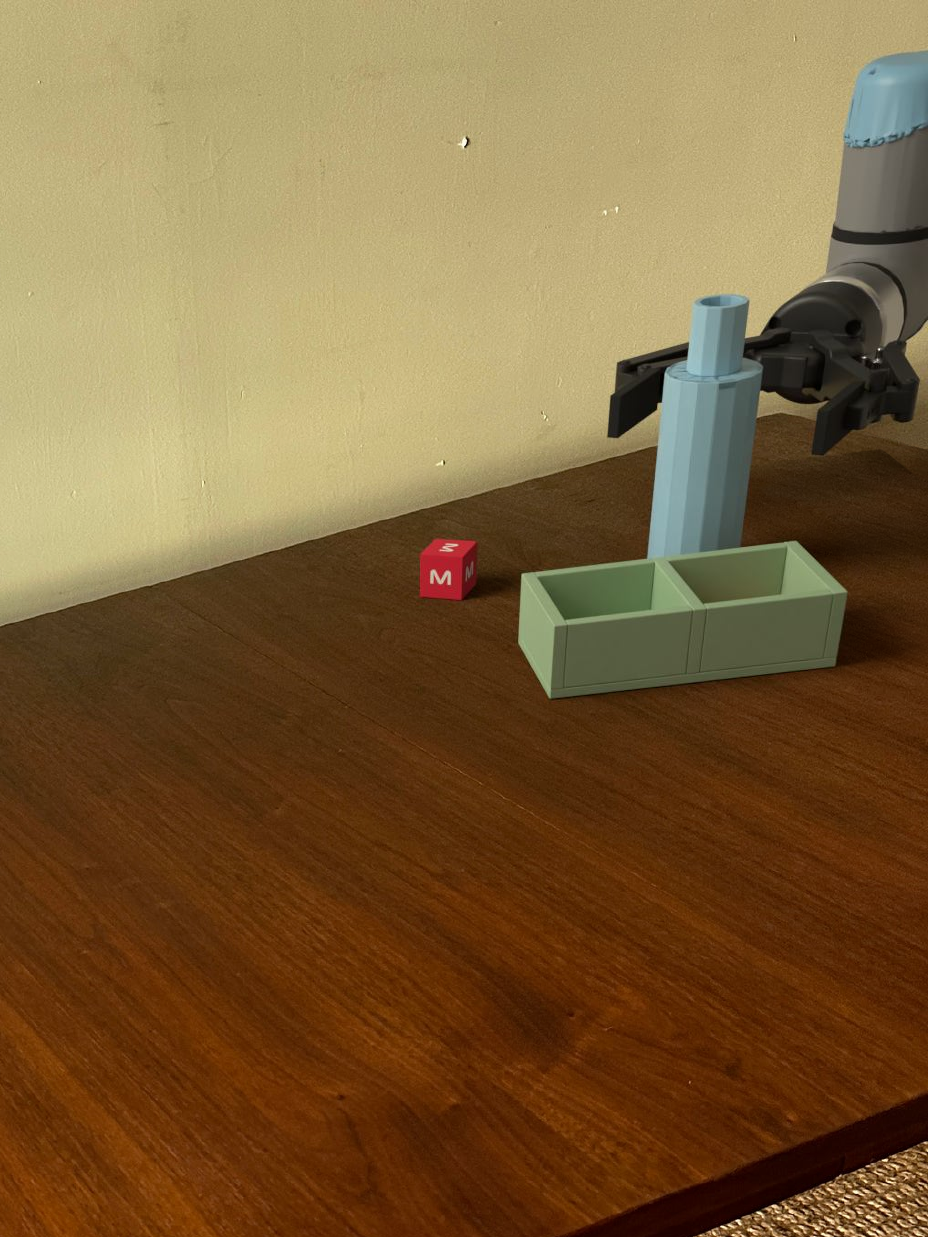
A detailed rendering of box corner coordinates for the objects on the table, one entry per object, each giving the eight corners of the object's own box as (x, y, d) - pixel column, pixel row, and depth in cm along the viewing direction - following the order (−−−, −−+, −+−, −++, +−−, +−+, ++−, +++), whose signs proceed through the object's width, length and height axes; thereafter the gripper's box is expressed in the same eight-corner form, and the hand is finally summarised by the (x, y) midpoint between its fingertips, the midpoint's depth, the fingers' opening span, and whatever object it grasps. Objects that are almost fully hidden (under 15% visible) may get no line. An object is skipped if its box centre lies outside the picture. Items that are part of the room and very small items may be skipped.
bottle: (721, 552, 122) (754, 284, 111) (748, 582, 117) (784, 305, 107) (636, 562, 122) (660, 296, 112) (659, 592, 118) (687, 318, 107)
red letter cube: (461, 600, 121) (462, 556, 119) (419, 597, 122) (420, 553, 120) (476, 584, 123) (477, 541, 121) (434, 581, 124) (435, 538, 122)
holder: (785, 612, 113) (796, 540, 110) (835, 666, 106) (848, 591, 103) (517, 643, 114) (521, 573, 111) (549, 699, 107) (554, 626, 104)
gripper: (1004, 402, 122) (903, 502, 110) (656, 380, 136) (532, 466, 124) (1028, 284, 118) (926, 375, 106) (666, 273, 131) (538, 352, 119)
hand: (713, 425), depth 115 cm, fingers open, 13 cm apart
